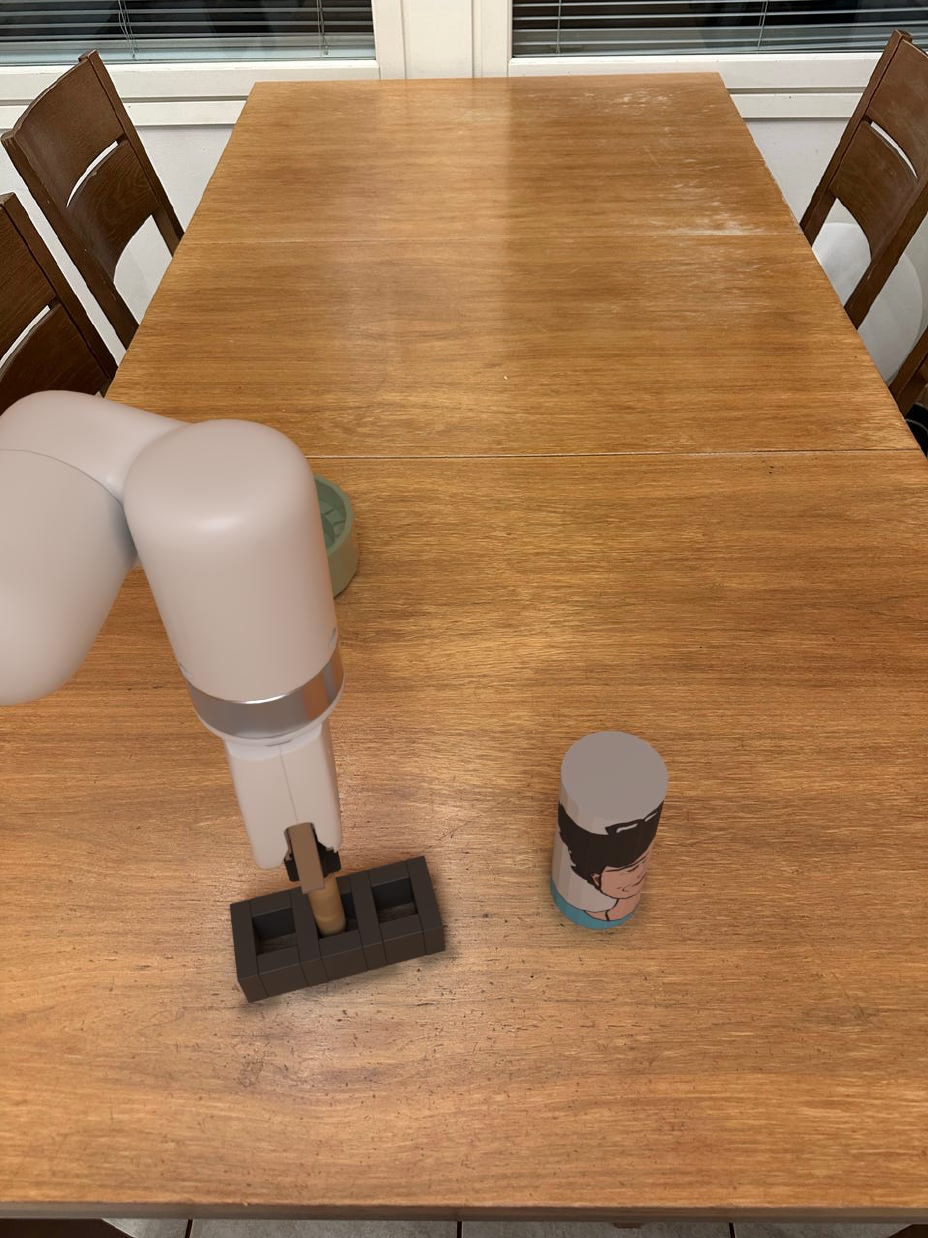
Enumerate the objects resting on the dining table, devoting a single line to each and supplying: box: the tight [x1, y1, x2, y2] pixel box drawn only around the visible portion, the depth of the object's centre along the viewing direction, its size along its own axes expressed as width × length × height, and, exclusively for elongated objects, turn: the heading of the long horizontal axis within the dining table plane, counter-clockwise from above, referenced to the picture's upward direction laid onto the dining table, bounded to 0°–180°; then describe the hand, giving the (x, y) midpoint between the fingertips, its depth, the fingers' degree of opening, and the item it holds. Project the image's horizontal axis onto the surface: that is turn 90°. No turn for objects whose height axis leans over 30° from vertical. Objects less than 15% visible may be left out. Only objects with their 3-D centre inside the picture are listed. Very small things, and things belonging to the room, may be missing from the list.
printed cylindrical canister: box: [549, 730, 670, 930], centre depth 65 cm, size 7×7×15 cm
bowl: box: [313, 473, 361, 599], centre depth 92 cm, size 15×15×6 cm
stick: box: [308, 872, 348, 938], centre depth 61 cm, size 2×2×16 cm
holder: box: [229, 854, 446, 1004], centre depth 67 cm, size 14×6×4 cm, turn 105°
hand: (312, 852), depth 59 cm, fingers closed on stick, 2 cm apart
